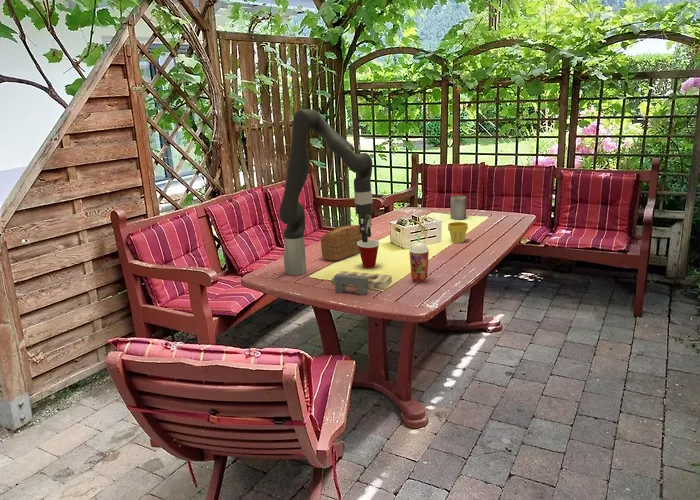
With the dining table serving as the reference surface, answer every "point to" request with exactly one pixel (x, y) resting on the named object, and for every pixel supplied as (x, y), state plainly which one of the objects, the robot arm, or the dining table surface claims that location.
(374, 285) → the ice cube tray
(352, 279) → the grey bridge block
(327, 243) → the bread
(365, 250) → the plastic cup
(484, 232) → the dining table surface
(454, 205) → the pillar candle
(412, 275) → the smoothie
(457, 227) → the plant pot
